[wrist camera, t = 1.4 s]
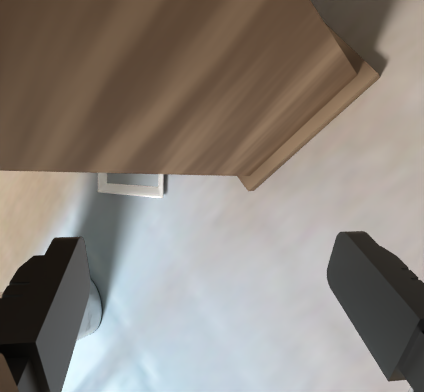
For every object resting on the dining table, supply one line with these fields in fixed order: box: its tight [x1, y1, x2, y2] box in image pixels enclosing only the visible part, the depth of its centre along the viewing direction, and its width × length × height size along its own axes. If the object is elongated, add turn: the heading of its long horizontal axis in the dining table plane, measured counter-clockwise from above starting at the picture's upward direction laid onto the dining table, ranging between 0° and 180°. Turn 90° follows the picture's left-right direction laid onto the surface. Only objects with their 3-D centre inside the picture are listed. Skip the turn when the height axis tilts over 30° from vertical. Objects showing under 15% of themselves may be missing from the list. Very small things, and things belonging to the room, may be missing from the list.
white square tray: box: [98, 173, 164, 198], centre depth 39 cm, size 12×12×5 cm
